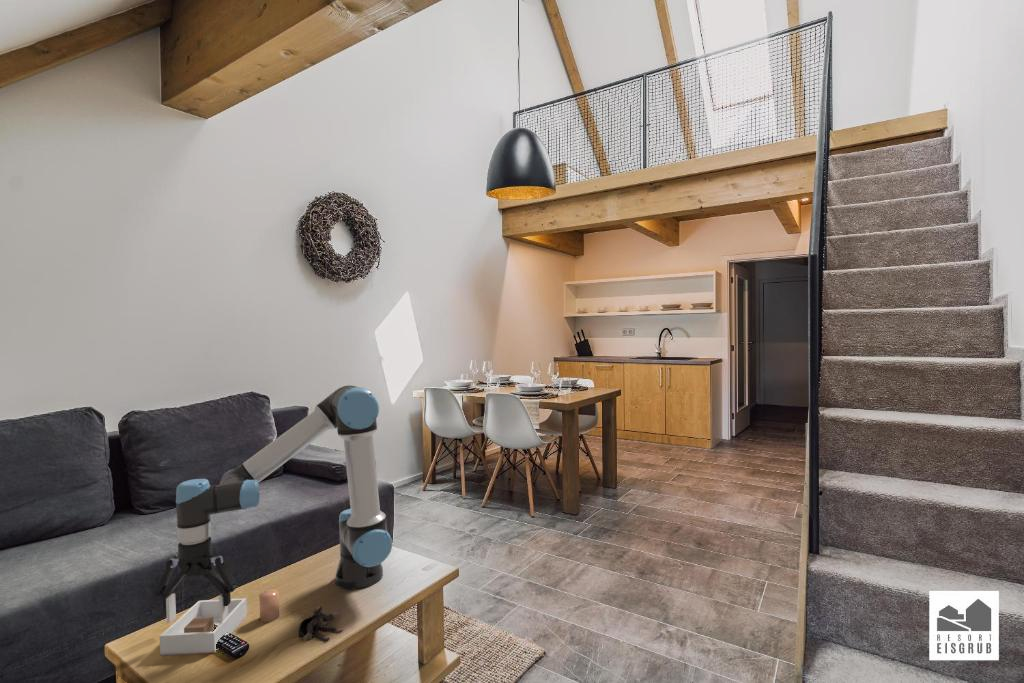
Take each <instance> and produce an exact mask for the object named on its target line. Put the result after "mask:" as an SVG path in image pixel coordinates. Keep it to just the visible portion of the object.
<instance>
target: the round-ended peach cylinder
mask: <svg viewBox="0 0 1024 683" xmlns="http://www.w3.org/2000/svg"><path fill="white" fill-rule="evenodd" d="M279 594H280V593H279V590H278V589H275V588H270V589H267V590H264V591H261V593H260V594H259V595H258V598H259V620H260V622H261V623H271V622H274V621H276V620H278V618H279V617H280V597H279Z"/></svg>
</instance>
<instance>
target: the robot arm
mask: <svg viewBox="0 0 1024 683" xmlns="http://www.w3.org/2000/svg"><path fill="white" fill-rule="evenodd" d="M379 405H380V404H379V401H378V399H377V397H376V396H375V395H374V394H373V393H372V392H371V391H369V390H368V389H366V388H364V387H359V386H355V385H344V386H341V387H338V388H337V389H336V390H334V391H333V392H331V393H330V394H329V395H328V396H326V398H324V399H323V400H322V401H320V402H319V403H318V404H316V405H315V407H314V411H312V412H311V413H309V414H308V415H307V416H305V417H304V418H303V419H300V421H298V422H297V423H296V424H294V425H293V426H292V427H290V428H289V429H287V430H286V431H285V432H283V433H282V434H281V435H279V436H278V437H276V438H275V439H274V440H273V441H271V442H270V443H269V444H267V445H266V446H264V447H263V448H262V449H260V450H259V451H258V452H256V453H255V454H254V455H252V456H251V457H249V458H248V459H247V460H245V461H244V462H243V463H241V464H240V465H238V467H236V468H234V469H233V468H232V469H230V470H228V471H227V472H225V473H223V475H222V476H221V479H220V481H219V484H212V485H211V484H210V481H209V479H207V478H195V479H189V480H186V481H185V480H184V481H183V482H181V483H179V484H178V485H177V486H176V491H175V492H176V494H175V496H176V497H175V505H176V506H175V508H176V509H175V510H176V522H177V523H176V524H177V528H176V531H177V542H178V544H177V554H178V555H177V556H178V558H177V557H176V556H173V557H171V558H170V559H168V560H167V561H166V562H165V570H164V572H163V574H162V575H161V578H160V581H159V582H158V585H157V587H156V590H155V591H154V596H156V597H161V598H162V607H163V610H166V624H171V623H172V622H173V621H174V620H175V619H177V611H176V610H177V606H176V604H177V603H176V593H175V592H174V590H175V589H176V587H178V585H180V582H182V580H183V579H184V577H186V576H187V577H193V576H197V577H200V576H202V577H203V578H206V579H207V580H208V581H209V582H210V583H211V584H212V585H213V586H214V588H215V589H216V590H217V591H219V592H220V594H219V595H218V600H219V611H220V621H221V620H224V619H225V618H226V616H227V615H228V605H229V604H230V602H231V599H232V598H231V593H233V592H234V591H235V590H236V589H237V588H238V586H239V585H238V584H239V583H237V580H236V579H235V577H234V576H233V574H232V572H231V571H230V569H229V566H228V565H227V563H226V559H225V555H224V554H220V555H218V556H212V537H211V534H212V531H211V530H212V529H211V528H212V527H211V525H212V524H211V523H212V522H211V516H212V515H217V514H221V513H229V512H235V511H241V510H247V509H251V508H255V507H257V506H258V505H259V504H260V499H261V498H260V485H259V484H260V483H261V481H263V480H264V479H265V478H267V477H268V476H270V475H271V474H272V473H273V472H275V471H276V470H278V469H279V468H280V467H281V466H283V465H284V464H285V463H287V462H288V461H289V460H290V459H292V458H294V457H295V456H296V455H298V454H299V453H300V452H301V451H303V450H304V449H305V448H306V447H308V446H309V445H310V444H312V443H313V442H315V440H317V439H319V437H321V436H323V435H324V434H326V432H328V431H329V430H335V429H336V430H337V431H336V432H337V435H338V436H339V437H340V438H342V440H343V446H344V455H345V465H346V476H347V485H348V486H347V487H348V496H349V505H350V508H348V509H345V510H343V511H341V512H340V514H339V516H338V518H339V520H338V527H339V550H340V551H339V552H340V553H339V554H340V555H339V556H340V558H339V562H338V564H337V568H336V571H335V577H334V578H335V584H336V586H338V587H339V588H341V589H342V588H343V589H347V590H354V589H355V590H356V589H361V588H366V587H369V586H372V585H375V584H377V582H379V581H380V580H382V578H383V577H384V567H383V565H382V563H383V562H385V561H386V559H387V558H388V557H389V555H390V553H391V552H392V550H393V549H392V548H393V540H392V537H391V535H390V533H389V532H388V527H387V517H386V516H387V515H386V514H385V512H383V511H382V510H381V508H380V497H379V496H380V495H379V486H378V478H377V477H378V475H377V466H376V457H375V456H376V455H375V445H374V437H373V436H374V434H375V432H376V431H377V430H378V423H377V418H378V416H379V412H380V406H379ZM212 564H213V565H212ZM177 566H178V567H179V568H180V571H179V572H178V573H177V574H176V576H175V578H173V581H171V578H172V576H173V574H174V571H175V569H176V567H177ZM215 568H216V569H215ZM216 570H217V571H216ZM170 581H171V583H170V584H169V582H170ZM168 584H169V585H168ZM173 592H174V593H173Z"/></svg>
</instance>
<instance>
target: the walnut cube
mask: <svg viewBox="0 0 1024 683" xmlns="http://www.w3.org/2000/svg"><path fill="white" fill-rule="evenodd" d="M213 630H214V616H213V617H197V618H194V619H193V620H192V621H191V622H190V623H189V624H188V625H187V626H186V627H185V628H184V633H194V632H212V631H213Z"/></svg>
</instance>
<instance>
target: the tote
mask: <svg viewBox="0 0 1024 683" xmlns="http://www.w3.org/2000/svg"><path fill="white" fill-rule="evenodd" d="M213 616H214V624H215V625H218V626H217V627H216V629H215V630H214V631H213V632H194V633H184V628H185V627H186V626H187V625H188V624H189V623H190V622H191V621H192V620H193V619H194V618H197V617H213ZM247 616H248V598H247V597H245V598H231V602H230V604H229V605H228V615H227V616H226V618H225V619H224V620H221V621H220V611H219V599H205V600H204V599H203V600H198V601H197V602H195V604H194V605H192V606H191V607H190V608H189V609H188V610H187V611H186V612H185V613H183V614H182V615H181V616H180V617H179V618H178V619H177V620H176V621H175V622H174V623H172V624H171V625H170V626H169V627H168V628H167V629H166V630H165V631H163V633H161V634H160V635H159V651H160V652H159V653H160V655H159V656H173V655H174V656H175V655H193V654H196V655H198V654H212V653H216V652H217V651H216V650H218V649H216V644H217V642H218V640H219V639H220V638H221V637H222V636H223V635H224V634H225V633H227V632H228V633H231V634H233V633H234V631H235V630H236V629H237V628H238V626H240V624H241V623H243V621H244V620H245V619H246V618H247Z"/></svg>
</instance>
